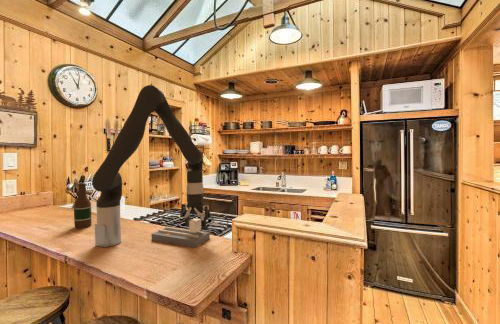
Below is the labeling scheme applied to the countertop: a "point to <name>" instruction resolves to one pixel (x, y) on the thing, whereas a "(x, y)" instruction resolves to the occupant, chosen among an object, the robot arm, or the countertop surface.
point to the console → (180, 236)
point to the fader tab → (195, 226)
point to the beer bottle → (82, 208)
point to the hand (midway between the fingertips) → (195, 227)
